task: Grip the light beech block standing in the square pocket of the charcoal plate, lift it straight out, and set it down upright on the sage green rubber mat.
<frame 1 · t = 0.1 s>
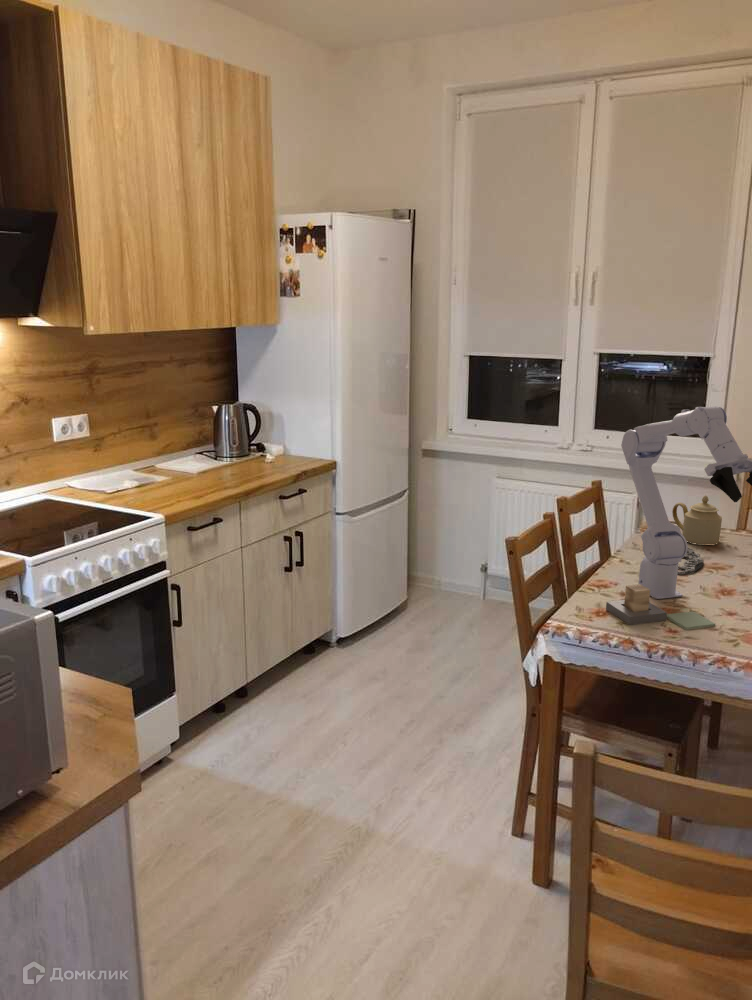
olive yellow teapot: (693, 540, 249), on the table
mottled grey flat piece: (685, 562, 228), on the table
green mat: (689, 621, 184), on the table
pocket plate: (635, 614, 188), on the table
beech block: (635, 615, 188), resting in pocket plate
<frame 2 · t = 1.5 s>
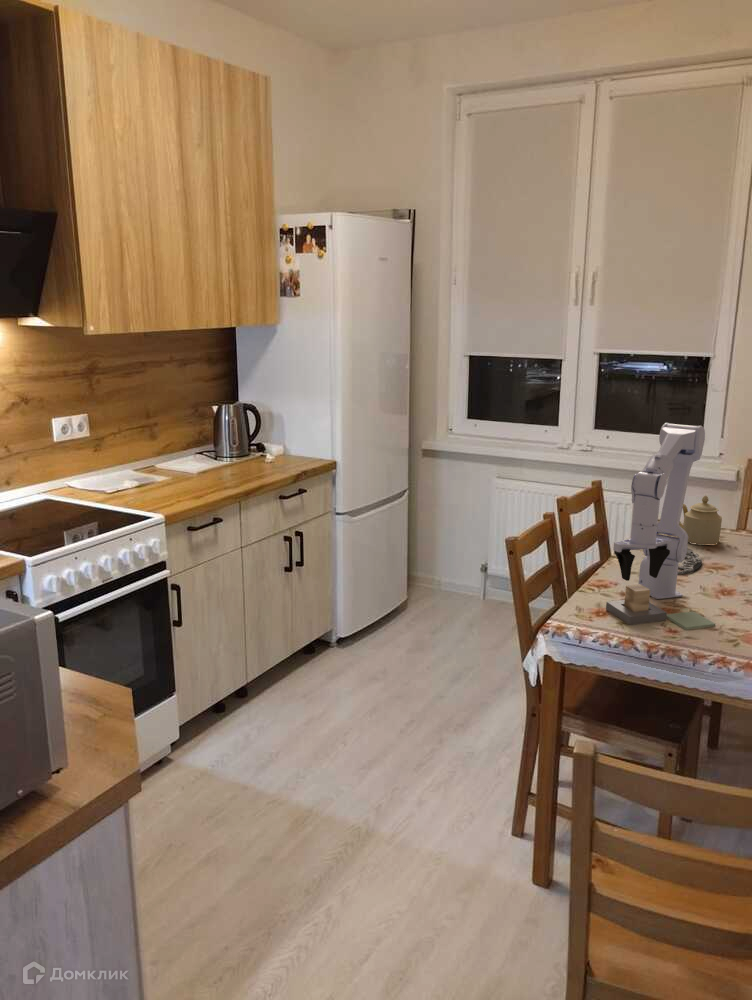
hand: (639, 577, 185), 10 cm above the table, tool pointing down, fingers open, 7 cm apart
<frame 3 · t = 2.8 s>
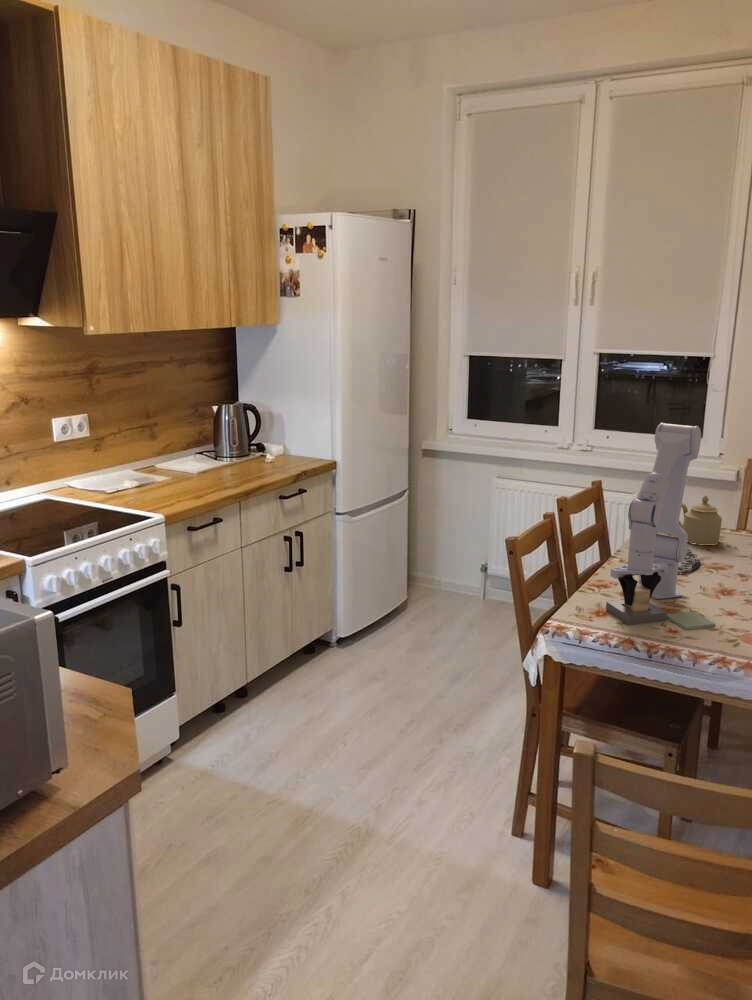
hand: (636, 603, 187), 3 cm above the table, tool pointing down, fingers closed on beech block, 4 cm apart
beech block: (635, 614, 188), resting in pocket plate, touching gripper
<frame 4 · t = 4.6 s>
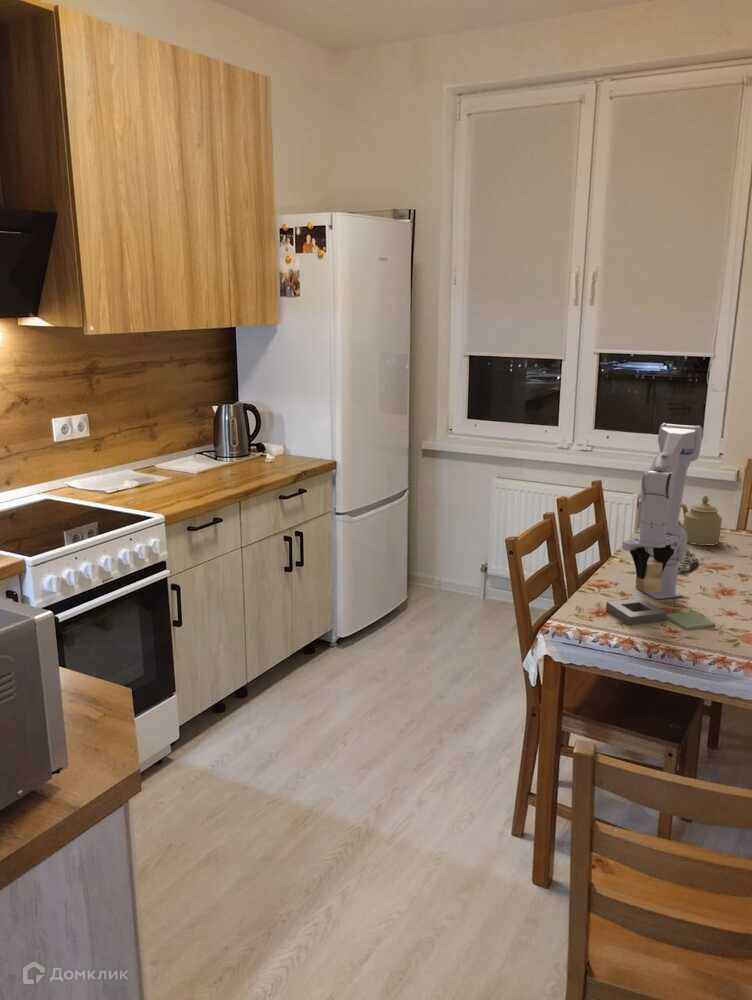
hand: (648, 576, 185), 10 cm above the table, tool pointing down, fingers closed on beech block, 4 cm apart
beech block: (647, 589, 186), point 7 cm above the table, touching gripper
when the fingers open (5 cm above the table, at t = 6.6 s): beech block drops 1 cm, resting on green mat.
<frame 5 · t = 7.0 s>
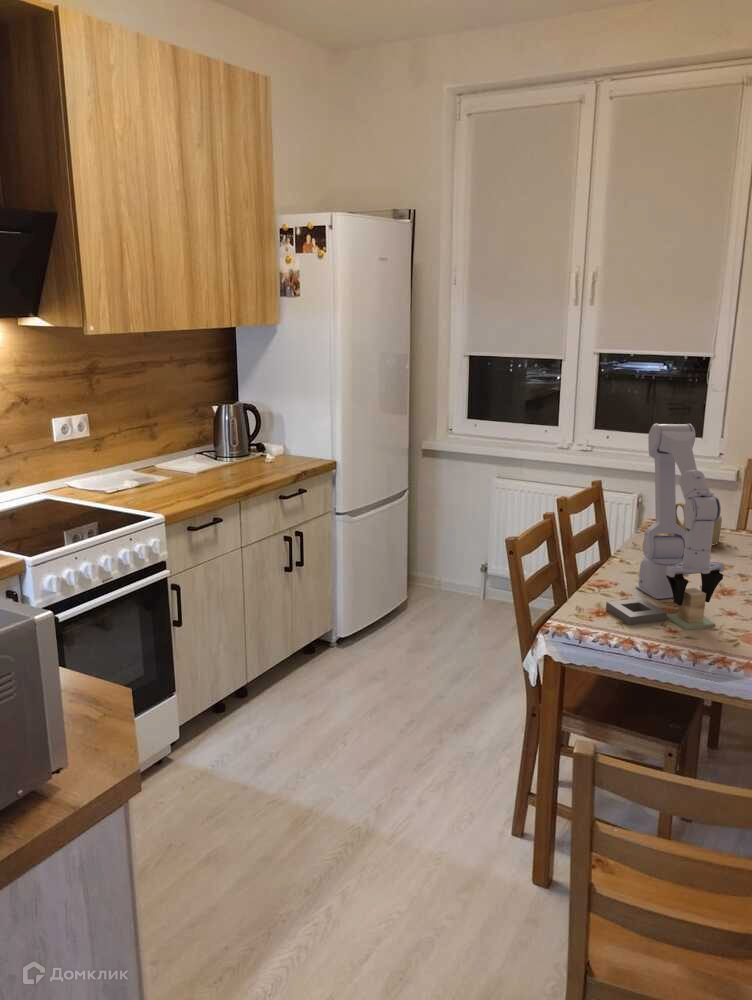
hand: (691, 602, 183), 5 cm above the table, tool pointing down, fingers open, 7 cm apart
beech block: (690, 619, 184), point 1 cm above the table, touching green mat
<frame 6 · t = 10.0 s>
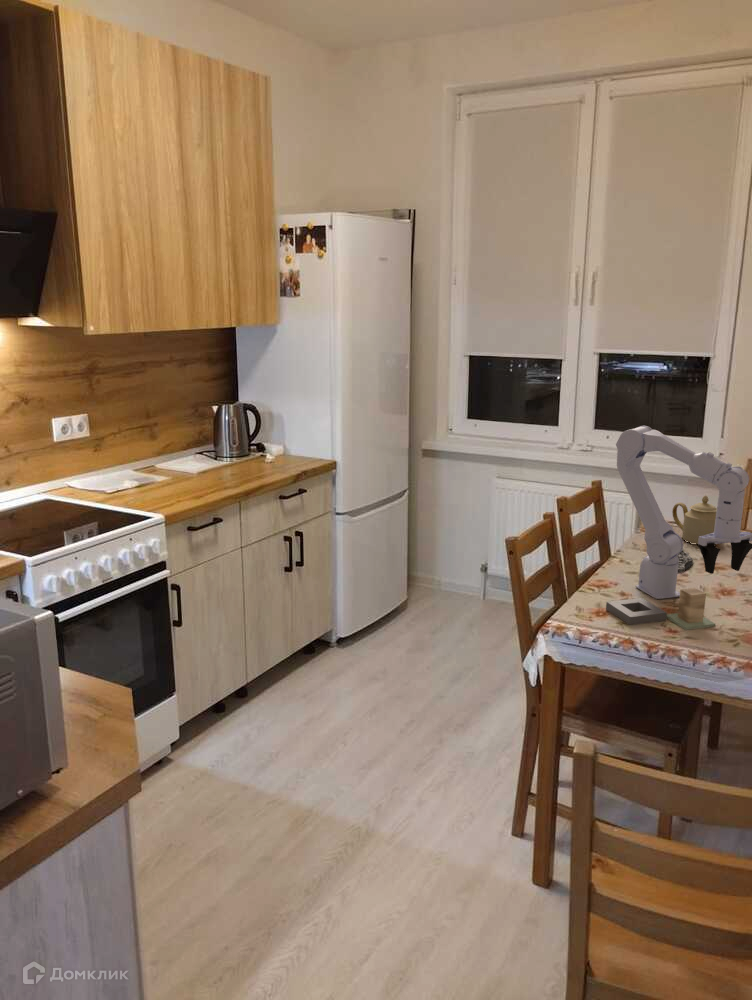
hand: (722, 570, 191), 9 cm above the table, tool pointing down, fingers open, 7 cm apart
at the end: beech block 0.1 cm off-centre on the green mat, point 0.6 cm above the green mat's base; beech block tilted 0°; the gripper is holding nothing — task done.
